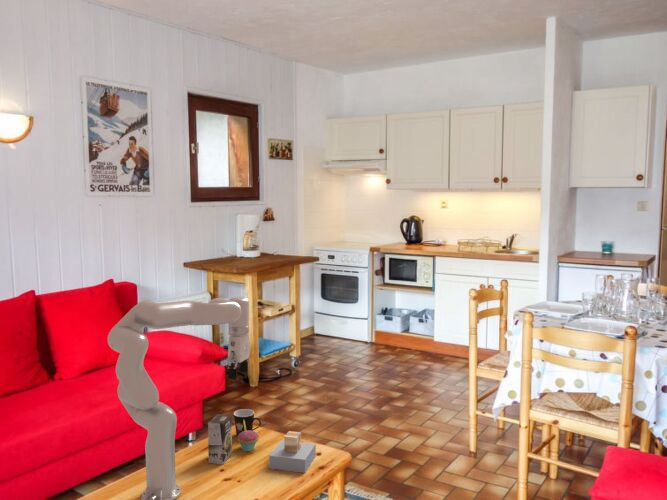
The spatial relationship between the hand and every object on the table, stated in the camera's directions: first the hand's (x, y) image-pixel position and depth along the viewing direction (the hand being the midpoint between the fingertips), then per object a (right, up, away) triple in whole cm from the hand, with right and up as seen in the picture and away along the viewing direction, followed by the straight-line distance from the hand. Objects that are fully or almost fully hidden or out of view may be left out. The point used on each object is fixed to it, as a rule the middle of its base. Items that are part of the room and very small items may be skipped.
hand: (238, 375), depth 220 cm
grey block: (+20, -34, +4) cm, 40 cm away
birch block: (+20, -29, +4) cm, 36 cm away
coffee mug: (-1, -32, +27) cm, 42 cm away
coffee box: (-8, -34, +7) cm, 36 cm away
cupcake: (+1, -33, +16) cm, 37 cm away
